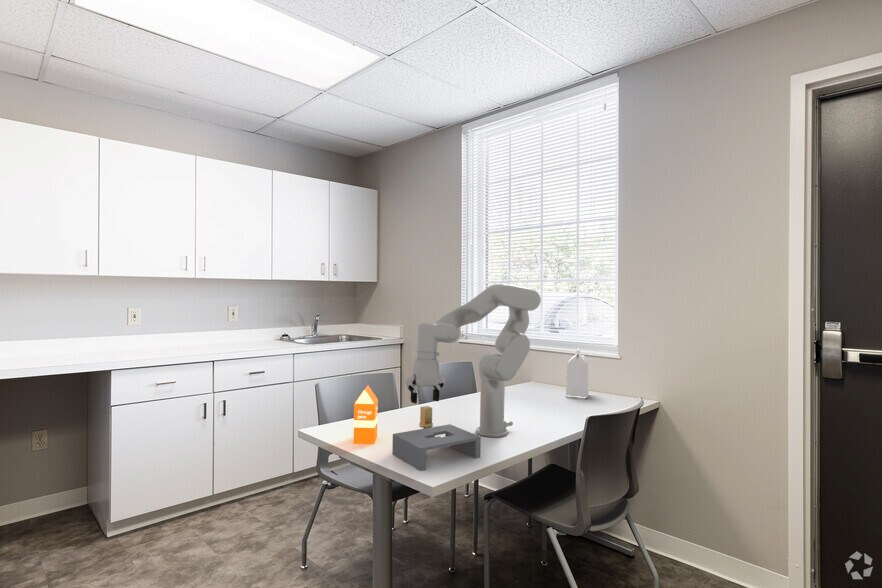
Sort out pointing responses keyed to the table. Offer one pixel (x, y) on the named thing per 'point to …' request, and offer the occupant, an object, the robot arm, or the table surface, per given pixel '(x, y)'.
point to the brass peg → (426, 417)
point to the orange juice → (366, 418)
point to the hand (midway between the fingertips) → (424, 401)
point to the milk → (577, 376)
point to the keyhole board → (433, 443)
